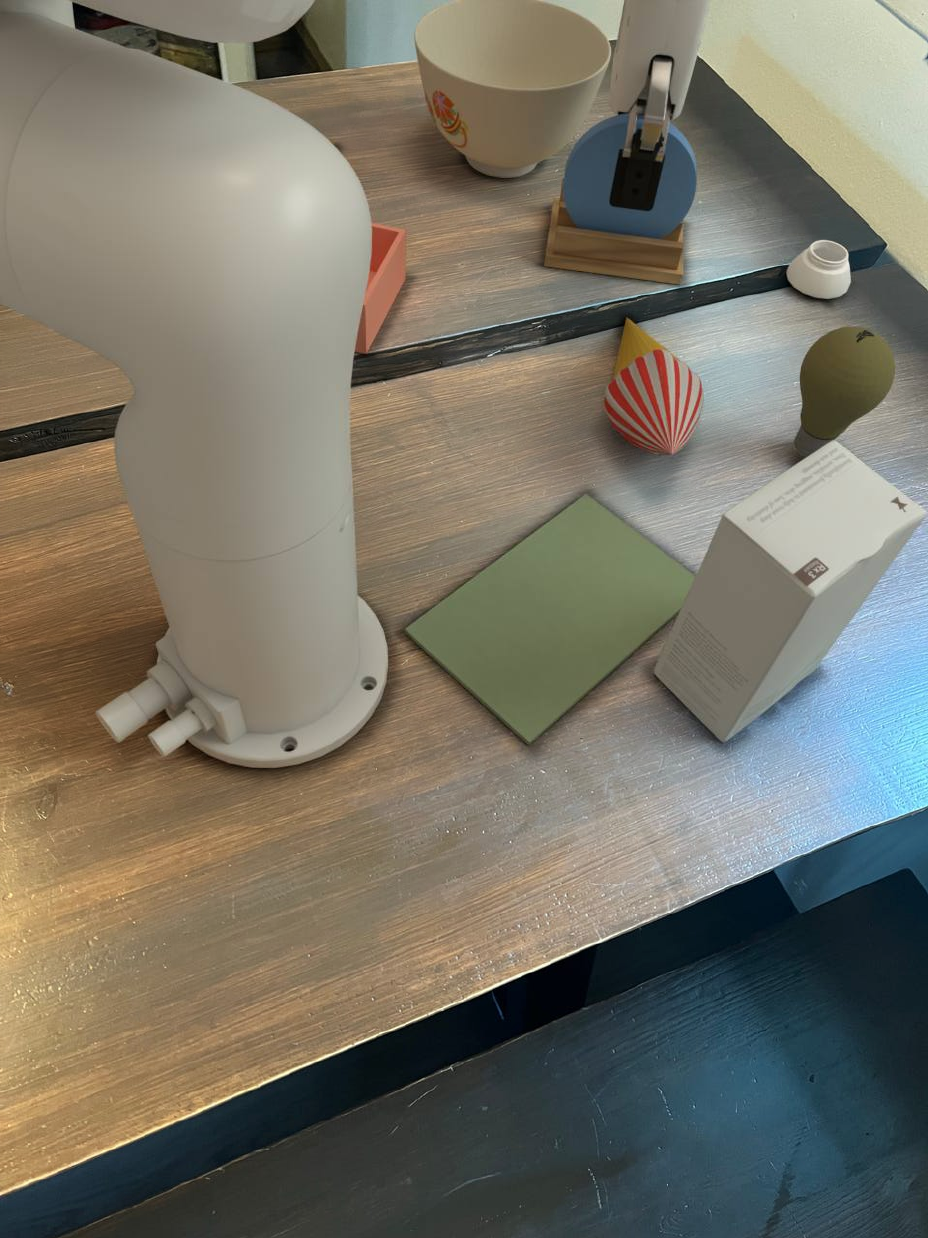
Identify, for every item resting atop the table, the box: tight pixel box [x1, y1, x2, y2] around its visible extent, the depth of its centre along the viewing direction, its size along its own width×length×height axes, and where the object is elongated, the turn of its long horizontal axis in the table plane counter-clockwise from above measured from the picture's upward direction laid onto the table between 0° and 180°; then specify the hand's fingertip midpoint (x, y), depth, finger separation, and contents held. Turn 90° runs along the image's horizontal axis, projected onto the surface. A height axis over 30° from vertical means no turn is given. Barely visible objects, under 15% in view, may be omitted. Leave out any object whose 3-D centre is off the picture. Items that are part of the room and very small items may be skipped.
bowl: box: [413, 0, 612, 179], centre depth 82 cm, size 16×16×10 cm
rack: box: [543, 177, 684, 285], centre depth 78 cm, size 8×11×3 cm
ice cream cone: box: [603, 316, 705, 456], centre depth 67 cm, size 6×6×20 cm
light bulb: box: [793, 326, 896, 459], centre depth 63 cm, size 6×6×10 cm
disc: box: [563, 113, 698, 239], centre depth 73 cm, size 1×10×10 cm, turn 83°
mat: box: [404, 493, 696, 746], centre depth 57 cm, size 16×10×1 cm, turn 135°
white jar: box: [786, 239, 852, 300], centre depth 77 cm, size 5×3×5 cm
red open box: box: [354, 221, 407, 355], centre depth 69 cm, size 18×10×10 cm, turn 75°
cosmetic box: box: [652, 440, 928, 743], centre depth 49 cm, size 8×6×15 cm
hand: (632, 170), depth 72 cm, fingers open, 9 cm apart
